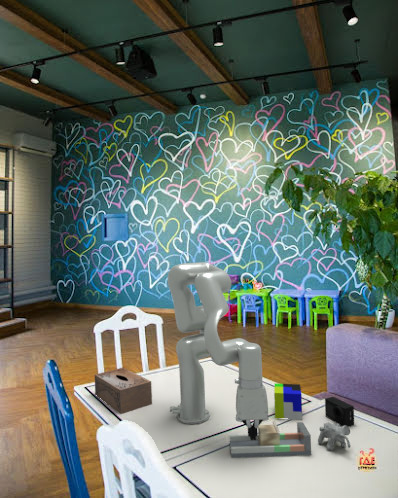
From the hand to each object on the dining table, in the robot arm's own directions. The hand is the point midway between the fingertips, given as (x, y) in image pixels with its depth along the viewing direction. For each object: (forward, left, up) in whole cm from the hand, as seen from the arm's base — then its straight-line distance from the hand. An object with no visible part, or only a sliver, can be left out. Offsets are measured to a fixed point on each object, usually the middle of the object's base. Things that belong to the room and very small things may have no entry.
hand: (252, 438), depth 126 cm
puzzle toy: (+17, +25, -4) cm, 31 cm away
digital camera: (+34, +18, -4) cm, 39 cm away
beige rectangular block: (+5, 0, -2) cm, 6 cm away
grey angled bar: (+17, 0, -3) cm, 17 cm away
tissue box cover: (-51, +45, -4) cm, 68 cm away
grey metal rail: (+5, 0, -4) cm, 6 cm away
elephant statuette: (+27, -1, -4) cm, 28 cm away
